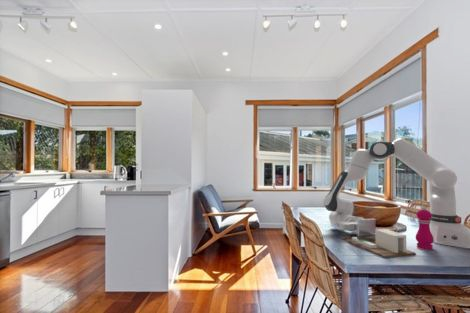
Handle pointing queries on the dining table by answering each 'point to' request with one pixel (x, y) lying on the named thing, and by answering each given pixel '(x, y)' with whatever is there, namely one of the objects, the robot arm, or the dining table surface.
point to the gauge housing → (391, 240)
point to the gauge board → (378, 248)
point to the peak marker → (360, 236)
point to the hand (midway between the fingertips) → (365, 228)
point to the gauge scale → (364, 242)
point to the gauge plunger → (366, 228)
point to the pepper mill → (424, 230)
